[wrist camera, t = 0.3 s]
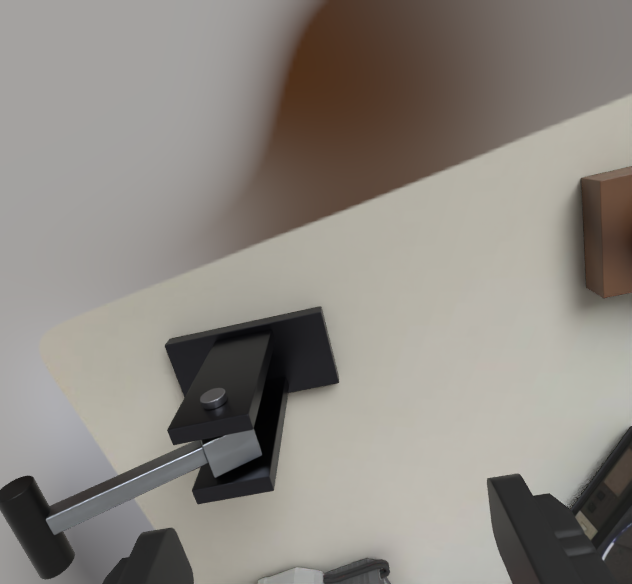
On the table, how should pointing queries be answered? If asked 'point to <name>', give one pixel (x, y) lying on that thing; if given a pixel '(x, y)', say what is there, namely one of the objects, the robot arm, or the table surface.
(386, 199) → the table surface
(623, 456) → the portable cd player
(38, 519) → the switch lever
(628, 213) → the button block
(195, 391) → the bracket
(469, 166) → the table surface
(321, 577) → the walkie-talkie
